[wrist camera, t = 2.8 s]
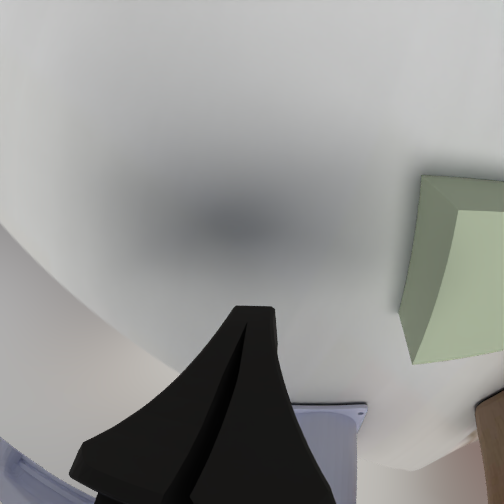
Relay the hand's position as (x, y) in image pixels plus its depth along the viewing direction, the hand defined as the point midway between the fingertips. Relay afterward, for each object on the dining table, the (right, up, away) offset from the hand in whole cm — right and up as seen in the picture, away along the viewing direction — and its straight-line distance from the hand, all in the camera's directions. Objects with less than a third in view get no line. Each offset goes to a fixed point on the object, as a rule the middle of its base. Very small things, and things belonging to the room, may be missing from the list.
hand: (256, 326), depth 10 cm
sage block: (+11, +3, +2) cm, 11 cm away
